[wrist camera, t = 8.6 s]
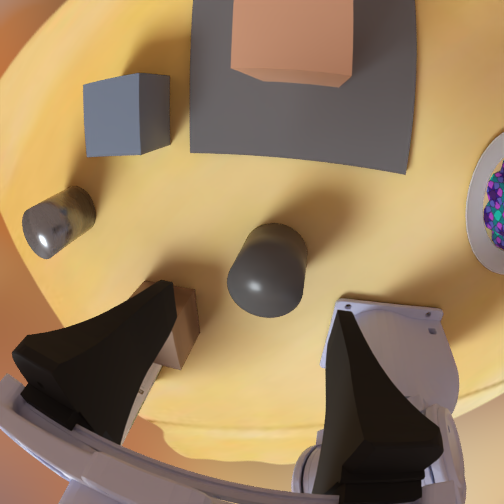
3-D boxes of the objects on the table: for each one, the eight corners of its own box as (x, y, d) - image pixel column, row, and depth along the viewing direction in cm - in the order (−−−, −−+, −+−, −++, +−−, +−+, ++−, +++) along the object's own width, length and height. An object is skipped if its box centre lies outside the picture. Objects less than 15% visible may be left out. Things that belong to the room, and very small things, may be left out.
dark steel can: (91, 186, 22) (47, 209, 18) (99, 232, 24) (60, 262, 20) (59, 186, 23) (17, 208, 18) (68, 228, 25) (30, 255, 20)
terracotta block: (341, 20, 13) (352, -24, 7) (338, 87, 15) (351, 76, 9) (265, 16, 14) (235, -28, 7) (263, 81, 16) (230, 68, 10)
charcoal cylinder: (310, 227, 20) (307, 259, 16) (303, 283, 22) (298, 322, 18) (244, 219, 21) (226, 249, 17) (244, 275, 23) (228, 311, 19)
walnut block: (195, 289, 25) (171, 327, 21) (200, 331, 27) (180, 370, 23) (144, 280, 26) (116, 313, 21) (154, 321, 28) (130, 356, 24)
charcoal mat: (410, -21, 10) (412, -24, 10) (403, 172, 17) (405, 174, 16) (198, -32, 12) (195, -34, 12) (193, 151, 19) (190, 152, 19)
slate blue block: (170, 75, 17) (138, 72, 14) (171, 144, 19) (140, 154, 16) (118, 83, 18) (83, 84, 14) (120, 145, 20) (86, 157, 17)
